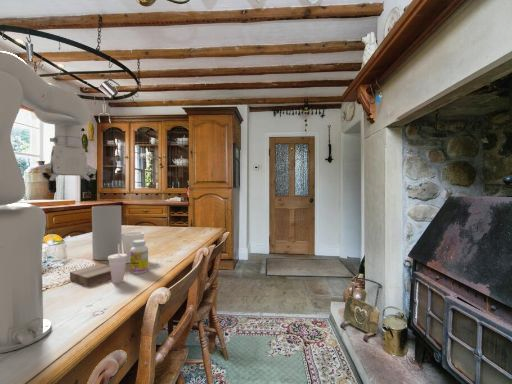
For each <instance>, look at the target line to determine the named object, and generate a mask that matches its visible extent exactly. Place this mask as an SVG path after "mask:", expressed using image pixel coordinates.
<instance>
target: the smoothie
mask: <svg viewBox="0 0 512 384" xmlns="http://www.w3.org/2000/svg"><path fill="white" fill-rule="evenodd" d="M126 258H127V254H124V253H122V254H120V244H118V254H113V255H110V256H108V260H107V261H108V265H109V266H110V272H111V278H112V279H111V283H112V284H121V283H123V282H124V279H125V270H126V264H127V263H126Z"/></svg>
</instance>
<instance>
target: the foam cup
mask: <svg viewBox="0 0 512 384" xmlns="http://www.w3.org/2000/svg"><path fill="white" fill-rule="evenodd" d="M144 238H145V232H143V231H128V232H124V233H122V249H123V252H124V253H123V254H127V258H126V264H131V258H130V250H131V248H132V247H134V245H133V241H135V240H144Z"/></svg>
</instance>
